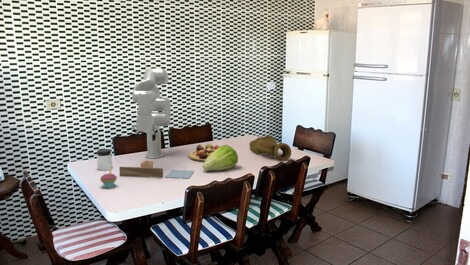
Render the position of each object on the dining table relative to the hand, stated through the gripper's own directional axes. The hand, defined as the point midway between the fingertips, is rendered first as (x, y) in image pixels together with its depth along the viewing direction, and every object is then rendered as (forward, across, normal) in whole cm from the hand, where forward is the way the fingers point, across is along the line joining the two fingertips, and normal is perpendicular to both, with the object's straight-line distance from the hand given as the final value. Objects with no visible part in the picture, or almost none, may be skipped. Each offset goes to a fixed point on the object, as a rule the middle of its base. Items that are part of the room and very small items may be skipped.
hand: (146, 140), depth 231 cm
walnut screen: (+20, 0, -11) cm, 23 cm away
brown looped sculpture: (+20, +76, +46) cm, 91 cm away
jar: (+20, -28, +2) cm, 35 cm away
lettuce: (+20, +44, +11) cm, 49 cm away
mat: (+20, +22, -4) cm, 30 cm away
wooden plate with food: (+20, +34, +40) cm, 56 cm away
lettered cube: (+20, 0, 0) cm, 20 cm away
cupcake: (+20, -12, -29) cm, 38 cm away
